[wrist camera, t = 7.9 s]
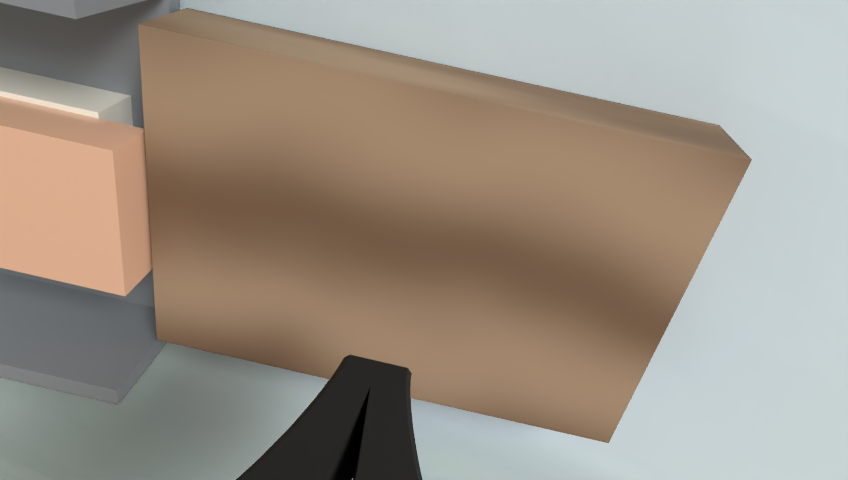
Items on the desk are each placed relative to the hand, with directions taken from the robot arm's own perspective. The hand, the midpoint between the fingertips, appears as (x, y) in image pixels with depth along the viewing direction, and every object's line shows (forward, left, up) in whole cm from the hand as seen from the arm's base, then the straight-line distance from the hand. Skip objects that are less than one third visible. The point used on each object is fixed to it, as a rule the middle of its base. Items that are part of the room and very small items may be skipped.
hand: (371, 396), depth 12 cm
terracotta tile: (0, +10, -5) cm, 11 cm away
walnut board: (0, 0, -8) cm, 8 cm away
